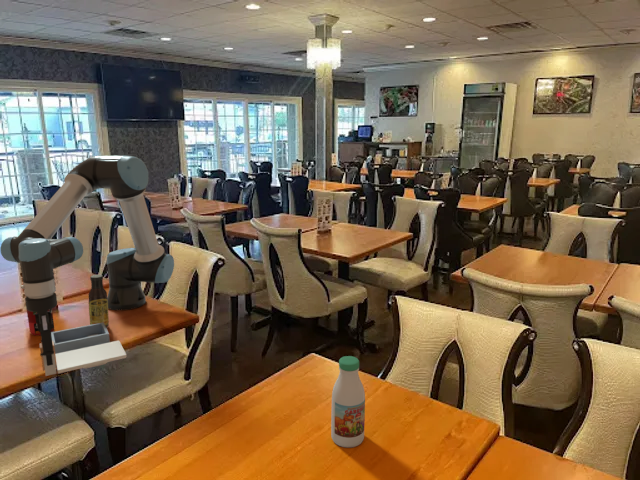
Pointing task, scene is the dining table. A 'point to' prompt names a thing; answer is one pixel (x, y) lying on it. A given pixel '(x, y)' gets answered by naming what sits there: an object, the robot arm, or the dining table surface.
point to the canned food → (33, 324)
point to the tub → (80, 337)
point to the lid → (87, 356)
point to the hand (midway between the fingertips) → (50, 370)
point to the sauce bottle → (98, 301)
